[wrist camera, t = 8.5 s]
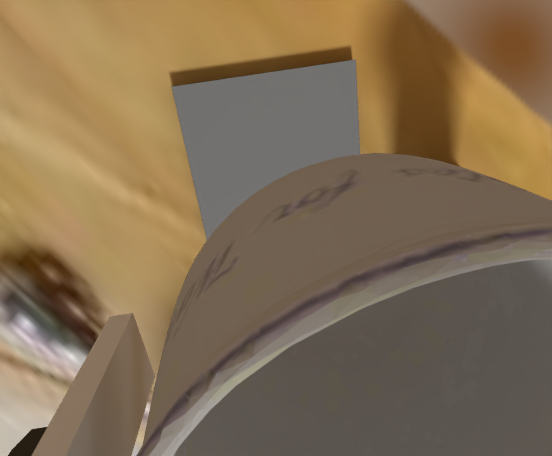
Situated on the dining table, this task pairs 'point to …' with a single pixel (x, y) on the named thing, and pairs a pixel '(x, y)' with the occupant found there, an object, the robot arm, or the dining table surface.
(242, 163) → the pad
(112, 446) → the robot arm
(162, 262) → the dining table surface
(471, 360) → the teacup
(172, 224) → the dining table surface
